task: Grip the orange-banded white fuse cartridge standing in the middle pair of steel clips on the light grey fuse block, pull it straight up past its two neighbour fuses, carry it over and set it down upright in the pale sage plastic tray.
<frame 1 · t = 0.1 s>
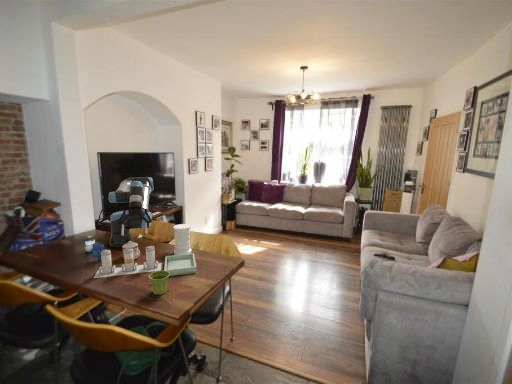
hand: (134, 234, 160), 15 cm above the table, tool tilted 35°, fingers open, 13 cm apart
grapes: (99, 262, 155), on the table
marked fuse: (129, 269, 142), point 1 cm above the table, touching fuse block
plant pot: (160, 291, 124), on the table
tray: (180, 266, 150), on the table
decorative container: (182, 252, 172), on the table
teacup with lid: (132, 259, 159), on the table
fuse block: (129, 272, 142), on the table
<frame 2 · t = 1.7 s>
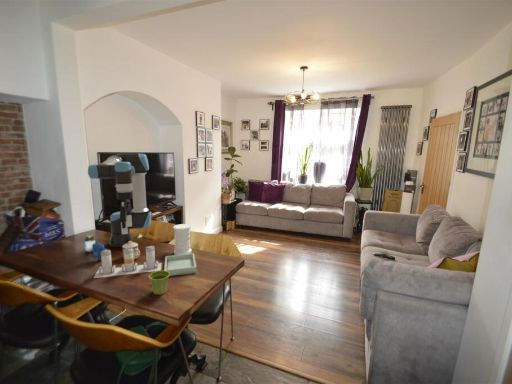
hand: (127, 230, 138), 25 cm above the table, tool pointing down, fingers open, 13 cm apart
nothing on the table moved.
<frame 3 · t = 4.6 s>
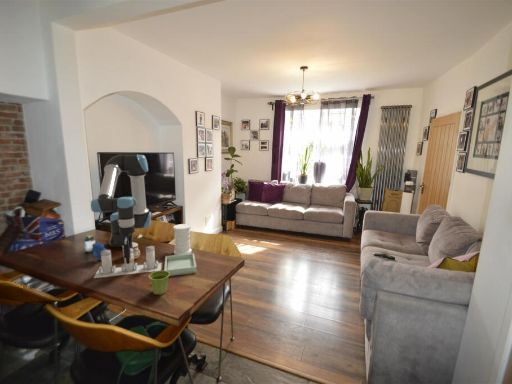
hand: (129, 266, 142), 4 cm above the table, tool pointing down, fingers closed on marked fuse, 5 cm apart
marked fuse: (129, 269, 142), point 1 cm above the table, touching fuse block, gripper
everything else where it was.
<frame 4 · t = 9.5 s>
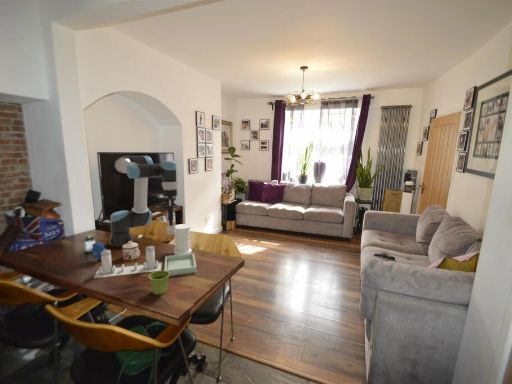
hand: (171, 229, 145), 23 cm above the table, tool pointing down, fingers closed on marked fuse, 5 cm apart
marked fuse: (171, 233, 146), point 21 cm above the table, touching gripper
everything else where it was.
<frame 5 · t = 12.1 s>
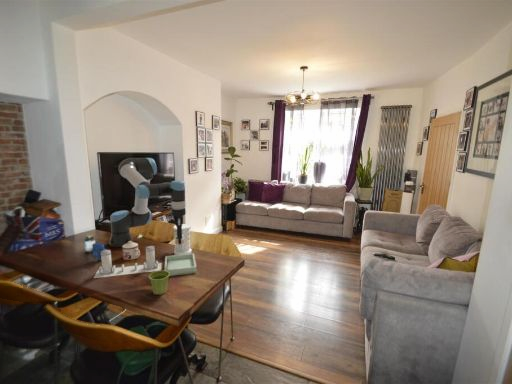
hand: (179, 247, 148), 12 cm above the table, tool pointing down, fingers closed on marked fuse, 5 cm apart
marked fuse: (180, 250, 149), point 10 cm above the table, touching gripper
everything else where it was.
when the fingers open (4 cm above the table, at t = 14.4 s): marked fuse stays where it is, resting on tray.
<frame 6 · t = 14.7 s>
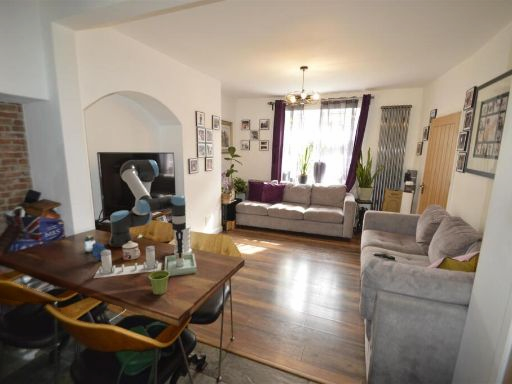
hand: (180, 259, 150), 5 cm above the table, tool pointing down, fingers open, 9 cm apart
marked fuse: (180, 265, 150), point 1 cm above the table, touching tray
everything else where it was.
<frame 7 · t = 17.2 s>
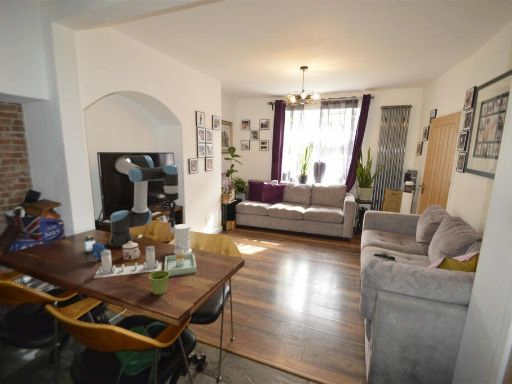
hand: (172, 228, 148), 23 cm above the table, tool pointing down, fingers open, 13 cm apart
nothing on the table moved.
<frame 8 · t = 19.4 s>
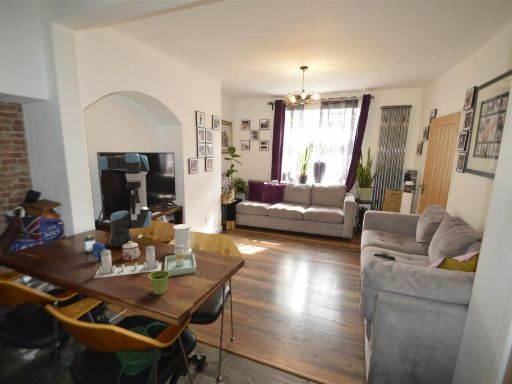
hand: (135, 216, 150), 29 cm above the table, tool pointing down, fingers open, 13 cm apart
nothing on the table moved.
at the end: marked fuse inside the target area on the tray (0.0 cm from its centre), point 0.8 cm above the tray's base; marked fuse tilted 0°; the gripper is holding nothing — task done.
